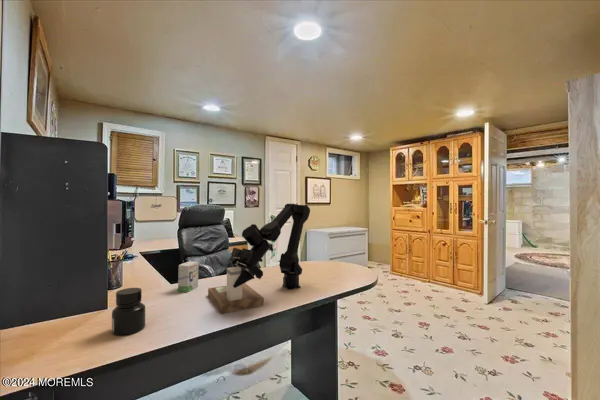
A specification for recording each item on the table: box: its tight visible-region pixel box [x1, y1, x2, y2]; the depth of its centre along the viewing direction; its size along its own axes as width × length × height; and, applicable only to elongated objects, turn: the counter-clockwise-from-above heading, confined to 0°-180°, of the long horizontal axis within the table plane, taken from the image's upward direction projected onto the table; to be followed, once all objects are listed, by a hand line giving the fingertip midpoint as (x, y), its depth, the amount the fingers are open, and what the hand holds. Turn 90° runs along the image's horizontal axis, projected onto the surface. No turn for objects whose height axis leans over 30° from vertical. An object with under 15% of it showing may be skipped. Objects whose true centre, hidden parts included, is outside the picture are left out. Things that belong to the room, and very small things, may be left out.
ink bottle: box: [111, 287, 146, 336], centre depth 88 cm, size 10×9×12 cm
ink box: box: [177, 261, 199, 293], centre depth 127 cm, size 9×5×12 cm, turn 168°
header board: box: [207, 282, 264, 315], centre depth 113 cm, size 16×22×3 cm
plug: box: [226, 267, 242, 301], centre depth 107 cm, size 5×5×14 cm
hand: (231, 285), depth 106 cm, fingers closed on plug, 5 cm apart
